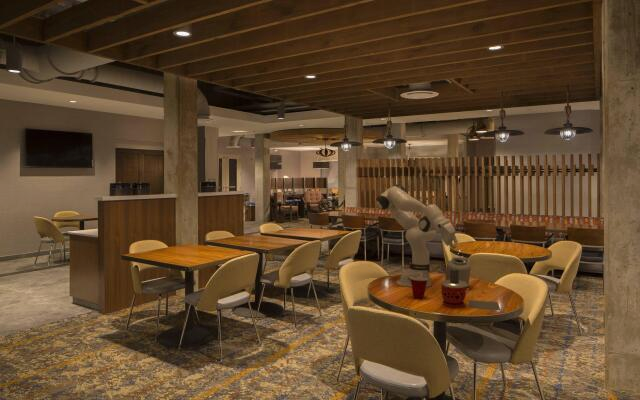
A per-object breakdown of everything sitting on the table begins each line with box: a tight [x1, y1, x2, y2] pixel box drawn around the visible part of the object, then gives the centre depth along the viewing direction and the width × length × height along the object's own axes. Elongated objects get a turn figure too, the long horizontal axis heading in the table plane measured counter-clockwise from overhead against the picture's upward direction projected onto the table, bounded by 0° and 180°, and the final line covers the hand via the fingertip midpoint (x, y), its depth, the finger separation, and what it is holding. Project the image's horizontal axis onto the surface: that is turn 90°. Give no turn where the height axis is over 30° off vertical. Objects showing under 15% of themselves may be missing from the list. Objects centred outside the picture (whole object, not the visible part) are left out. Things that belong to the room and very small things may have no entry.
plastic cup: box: [410, 277, 428, 300], centre depth 269 cm, size 11×11×12 cm
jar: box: [445, 250, 472, 287], centre depth 294 cm, size 19×15×25 cm
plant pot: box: [441, 285, 467, 308], centre depth 253 cm, size 13×13×12 cm
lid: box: [440, 269, 469, 288], centre depth 252 cm, size 14×14×8 cm
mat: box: [467, 299, 502, 311], centre depth 253 cm, size 16×16×1 cm
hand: (455, 245), depth 265 cm, fingers open, 8 cm apart
